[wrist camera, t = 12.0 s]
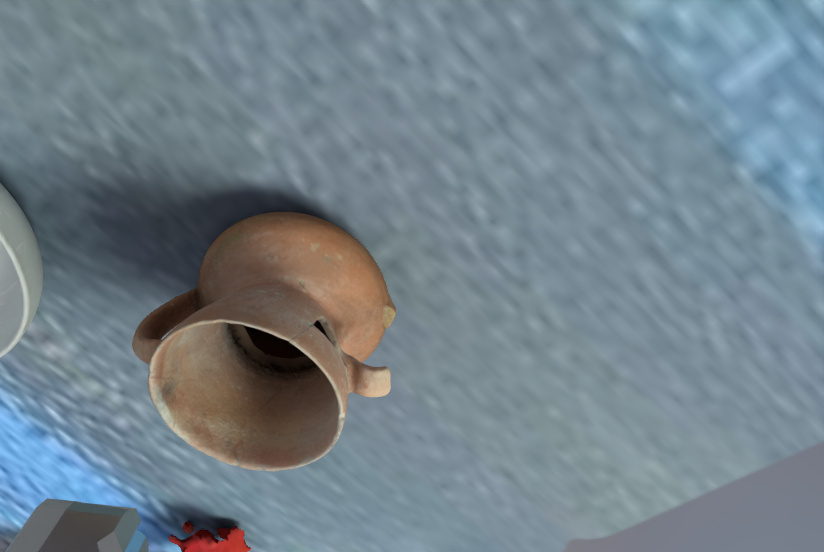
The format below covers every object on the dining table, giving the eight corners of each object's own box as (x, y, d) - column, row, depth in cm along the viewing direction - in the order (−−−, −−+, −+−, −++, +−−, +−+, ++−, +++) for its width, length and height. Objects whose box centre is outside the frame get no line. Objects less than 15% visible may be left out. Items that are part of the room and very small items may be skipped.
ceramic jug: (418, 212, 45) (391, 330, 34) (402, 362, 53) (375, 502, 41) (178, 179, 46) (67, 284, 34) (196, 332, 54) (112, 461, 42)
